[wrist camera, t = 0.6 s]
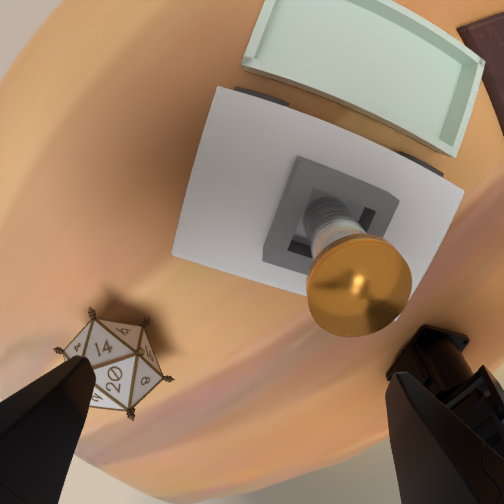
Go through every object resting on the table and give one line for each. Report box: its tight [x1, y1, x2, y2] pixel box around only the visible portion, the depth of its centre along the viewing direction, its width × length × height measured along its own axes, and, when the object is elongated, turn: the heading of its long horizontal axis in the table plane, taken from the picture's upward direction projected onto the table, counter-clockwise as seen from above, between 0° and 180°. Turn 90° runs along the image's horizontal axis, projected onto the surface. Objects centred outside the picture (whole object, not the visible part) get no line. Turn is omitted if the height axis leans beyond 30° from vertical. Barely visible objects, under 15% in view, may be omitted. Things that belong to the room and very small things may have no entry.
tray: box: [241, 0, 485, 158], centre depth 14 cm, size 13×7×2 cm, turn 72°
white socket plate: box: [171, 86, 465, 321], centre depth 16 cm, size 14×10×6 cm
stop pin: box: [303, 197, 412, 337], centre depth 12 cm, size 3×3×7 cm
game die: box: [53, 307, 175, 421], centre depth 21 cm, size 9×8×10 cm
